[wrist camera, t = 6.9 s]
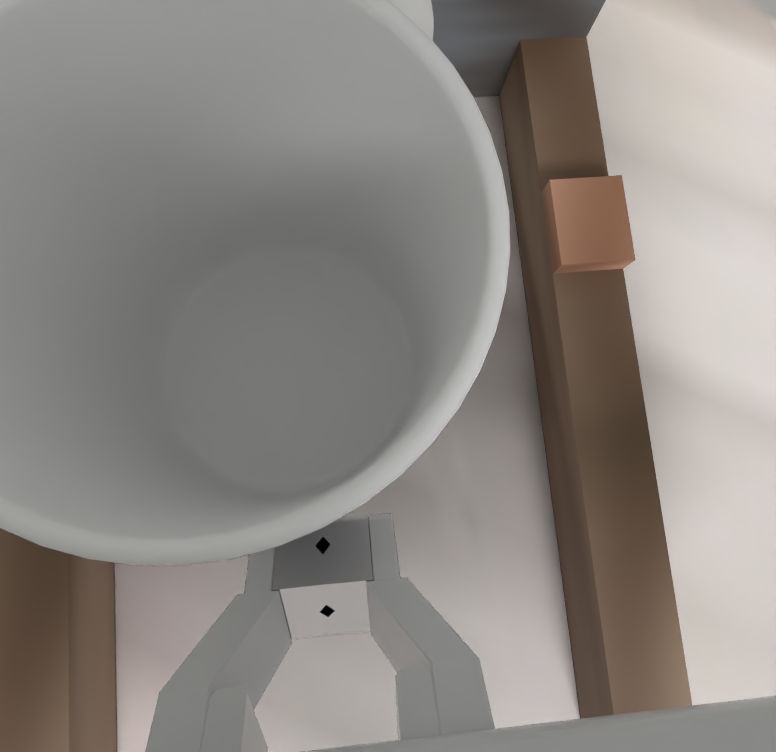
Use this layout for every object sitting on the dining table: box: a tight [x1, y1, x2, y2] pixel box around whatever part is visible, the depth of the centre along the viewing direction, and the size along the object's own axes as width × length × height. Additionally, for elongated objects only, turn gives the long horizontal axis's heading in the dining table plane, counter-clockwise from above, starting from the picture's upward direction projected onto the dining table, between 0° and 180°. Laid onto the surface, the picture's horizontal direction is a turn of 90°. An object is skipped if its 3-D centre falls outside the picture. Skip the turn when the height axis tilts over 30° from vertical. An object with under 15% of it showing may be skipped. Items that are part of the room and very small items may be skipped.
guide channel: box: [0, 0, 692, 752], centre depth 15 cm, size 17×22×4 cm
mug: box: [0, 0, 510, 565], centre depth 12 cm, size 12×8×10 cm
